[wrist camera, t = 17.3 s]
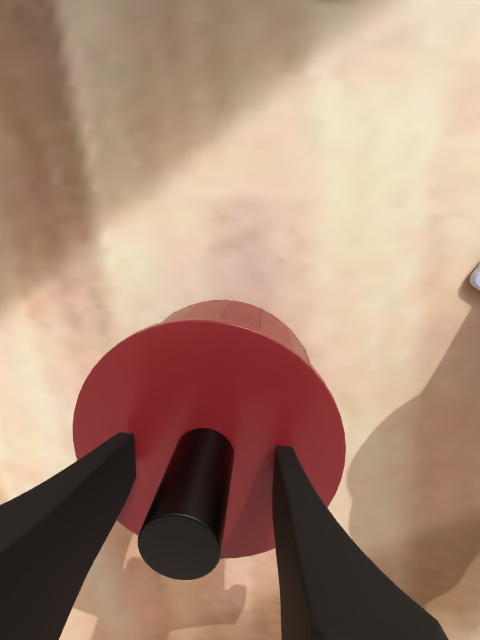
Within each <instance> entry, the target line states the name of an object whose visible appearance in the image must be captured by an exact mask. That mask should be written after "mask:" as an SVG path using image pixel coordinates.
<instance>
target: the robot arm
mask: <svg viewBox="0 0 480 640" xmlns="http://www.w3.org/2000/svg"><path fill="white" fill-rule="evenodd" d="M470 283H471V285H472V286H473V287H475V288H476V289H478V290H479V291H480V265H479V266H478V267H477V268H476V269H475V270H474V272H473V273H472V274H471V276H470ZM135 479H136V460H135V442H134V433H124V432H119V433H117V434H116V435H114V436H113V437H111V438H110V439H108V440H107V441H105V442H104V443H102V444H101V445H100V446H98V447H97V448H95V449H94V450H92V451H91V452H89V453H88V454H87V455H85V456H84V457H82V458H81V459H79V460H78V461H76V462H75V463H73V464H72V465H70V466H69V467H67V468H65V469H64V470H62V471H61V472H59V473H58V474H56V475H54V476H53V477H51V478H50V479H48V480H46V481H45V482H43V483H41V484H40V485H38V486H36V487H34V488H33V489H31V490H29V491H27V492H25V493H23V494H21V495H19V496H18V497H16V498H14V499H12V500H10V501H8V502H6V503H4V504H2V505H0V640H59V638H60V635H61V633H62V631H63V628H64V626H65V623H66V621H67V619H68V616H69V614H70V612H71V609H72V607H73V605H74V603H75V600H76V598H77V596H78V594H79V591H80V589H81V587H82V585H83V582H84V580H85V578H86V576H87V574H88V572H89V570H90V568H91V566H92V564H93V562H94V560H95V558H96V556H97V555H98V553H99V551H100V549H101V547H102V546H103V544H104V542H105V540H106V538H107V536H108V535H109V533H110V531H111V529H112V527H113V525H114V524H115V522H116V520H117V518H118V516H119V514H120V513H121V511H122V509H123V507H124V505H125V503H126V501H127V499H128V496H129V494H130V491H131V489H132V486H133V484H134V481H135ZM272 518H273V528H274V537H275V547H276V556H277V566H278V575H279V585H280V599H281V633H282V640H449V639H448V638H447V636H446V634H445V633H444V631H443V629H442V627H441V625H440V624H439V622H438V621H437V620H436V619H435V618H434V617H432V616H431V615H430V614H429V613H428V612H427V611H425V610H424V609H423V608H422V607H421V606H419V605H418V604H417V603H416V602H415V601H413V600H412V599H411V598H410V597H409V596H408V595H406V594H405V593H404V592H403V591H402V590H401V589H400V588H398V587H397V586H396V585H395V584H394V583H393V582H392V581H391V580H390V579H389V578H388V577H387V576H386V575H385V574H384V573H383V572H382V571H381V570H380V569H379V568H378V567H377V566H376V565H375V564H374V563H373V562H372V561H371V560H370V559H369V558H368V557H367V556H366V555H365V554H364V553H363V552H362V551H361V549H360V548H359V547H358V546H357V545H356V544H355V543H354V541H353V540H352V539H351V538H350V537H349V536H348V534H347V533H346V532H345V531H344V529H343V528H342V527H341V526H340V524H339V523H338V522H337V521H336V519H335V518H334V517H333V515H332V514H331V512H330V511H329V510H328V508H327V507H326V505H325V504H324V502H323V501H322V499H321V498H320V496H319V495H318V493H317V492H316V490H315V488H314V487H313V485H312V483H311V482H310V480H309V478H308V477H307V475H306V473H305V471H304V469H303V467H302V465H301V463H300V461H299V459H298V457H297V455H296V453H295V450H294V449H293V448H292V447H291V446H279V445H276V448H275V460H274V473H273V485H272Z"/></svg>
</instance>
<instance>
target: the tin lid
mask: <svg viewBox="0 0 480 640" xmlns="http://www.w3.org/2000/svg"><path fill="white" fill-rule="evenodd" d="M119 432H124V433H134V442H135V460H136V479H135V481H134V484H133V486H132V489H131V491H130V494H129V496H128V499H127V501H126V503H125V505H124V507H123V509H122V511H121V513H120V514H119V516H118V518H117V521H119V522H120V523H121V524H122V525H124V526H125V527H126V528H127V529H129V530H130V531H132V532H133V533H135V534H137V535H138V548H139V552H140V554H141V556H142V558H143V559H144V561H145V562H146V563H147V564H148V565H149V566H150V567H151V568H152V569H153V570H155V571H156V572H158V573H159V574H161V575H164V576H166V577H169V578H173V579H178V580H192V579H197V578H200V577H203V576H205V575H207V574H208V573H210V572H211V571H212V570H213V569H214V568H215V567H216V565H217V564H218V562H219V560H220V559H223V558H239V557H245V556H251V555H255V554H259V553H263V552H266V551H269V550H272V549H274V548H276V547H275V537H274V528H273V518H272V485H273V473H274V460H275V448H276V445H279V446H291V447H292V448H293V449H294V450H295V453H296V455H297V457H298V459H299V461H300V463H301V465H302V467H303V469H304V471H305V473H306V475H307V477H308V478H309V480H310V482H311V483H312V485H313V487H314V488H315V490H316V492H317V493H318V495H319V496H320V498H321V499H322V501H323V502H324V504H325V505H326V507H328V506H329V504H330V502H331V501H332V499H333V497H334V496H335V494H336V491H337V489H338V486H339V484H340V481H341V478H342V474H343V469H344V465H345V453H346V444H345V432H344V428H343V424H342V420H341V416H340V413H339V411H338V408H337V406H336V403H335V401H334V398H333V396H332V394H331V392H330V391H329V389H328V387H327V386H326V384H325V382H324V380H323V379H322V378H321V376H320V375H319V374H318V373H317V371H316V370H315V369H314V368H313V366H312V365H311V364H310V363H309V362H308V361H307V360H306V359H305V358H303V357H302V356H301V355H300V354H299V353H298V352H297V351H296V350H294V349H293V348H291V347H290V346H289V345H287V344H286V343H285V342H283V341H282V340H280V339H278V338H276V337H274V336H272V335H271V334H269V333H267V332H265V331H262V330H260V329H257V328H255V327H252V326H250V325H247V324H243V323H239V322H235V321H231V320H226V319H218V318H210V317H189V318H182V319H175V320H169V321H166V322H162V323H158V324H155V325H152V326H150V327H147V328H145V329H143V330H140V331H138V332H136V333H134V334H133V335H131V336H129V337H128V338H126V339H124V340H123V341H121V342H120V343H119V344H117V345H116V346H115V347H114V348H112V349H111V350H110V351H109V352H108V353H106V354H105V355H104V356H103V357H102V359H101V360H100V361H99V362H98V363H97V364H96V365H95V366H94V368H93V369H92V371H91V372H90V374H89V375H88V377H87V378H86V380H85V382H84V384H83V386H82V389H81V391H80V393H79V396H78V399H77V403H76V407H75V411H74V419H73V442H74V448H75V453H76V457H77V460H79V459H81V458H82V457H84V456H85V455H87V454H88V453H89V452H91V451H92V450H94V449H95V448H97V447H98V446H100V445H101V444H102V443H104V442H105V441H107V440H108V439H110V438H111V437H113V436H114V435H116V434H117V433H119Z"/></svg>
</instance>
